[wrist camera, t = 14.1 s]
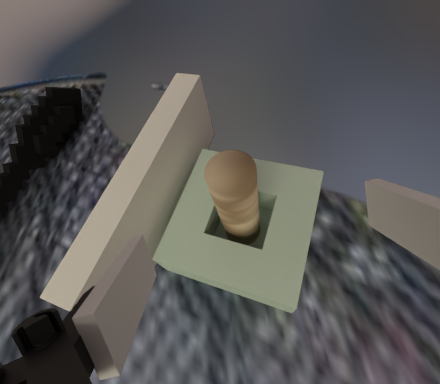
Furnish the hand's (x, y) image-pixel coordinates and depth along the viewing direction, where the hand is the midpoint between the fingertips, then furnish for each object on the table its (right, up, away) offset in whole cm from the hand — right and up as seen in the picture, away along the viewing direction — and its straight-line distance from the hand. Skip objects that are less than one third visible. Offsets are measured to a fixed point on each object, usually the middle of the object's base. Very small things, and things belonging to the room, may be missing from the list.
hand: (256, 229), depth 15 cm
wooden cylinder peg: (+1, -2, +15) cm, 15 cm away
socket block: (+1, -3, +16) cm, 16 cm away
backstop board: (-9, 0, +18) cm, 20 cm away
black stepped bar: (-31, +2, +24) cm, 39 cm away
